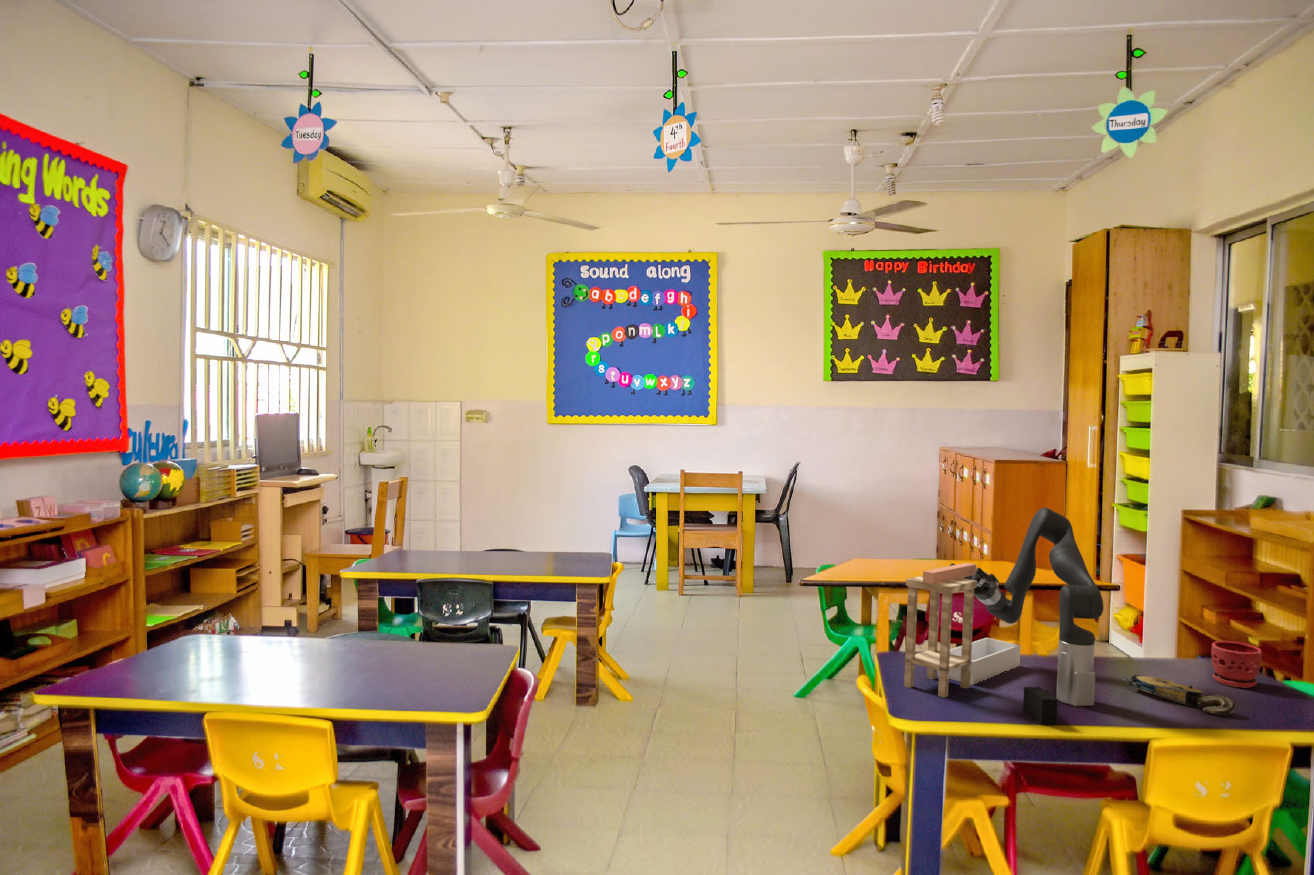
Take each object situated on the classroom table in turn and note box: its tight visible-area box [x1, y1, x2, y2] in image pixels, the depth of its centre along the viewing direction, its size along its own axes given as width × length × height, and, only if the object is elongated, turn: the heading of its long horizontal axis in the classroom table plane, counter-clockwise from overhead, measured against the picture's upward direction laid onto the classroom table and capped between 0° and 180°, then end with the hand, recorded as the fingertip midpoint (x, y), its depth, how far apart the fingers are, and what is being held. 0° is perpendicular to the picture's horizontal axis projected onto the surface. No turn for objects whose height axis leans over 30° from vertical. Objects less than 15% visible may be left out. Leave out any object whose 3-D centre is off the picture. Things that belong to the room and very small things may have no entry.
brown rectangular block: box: [922, 562, 977, 584], centre depth 264 cm, size 26×3×3 cm, turn 133°
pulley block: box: [1119, 674, 1237, 716], centre depth 255 cm, size 14×6×30 cm
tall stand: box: [903, 575, 977, 698], centre depth 261 cm, size 16×14×32 cm
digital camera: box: [1022, 686, 1059, 726], centre depth 237 cm, size 10×5×7 cm, turn 3°
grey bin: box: [936, 637, 1021, 686], centre depth 279 cm, size 32×12×7 cm, turn 133°
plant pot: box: [1210, 640, 1263, 689], centre depth 274 cm, size 13×13×12 cm
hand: (964, 568), depth 270 cm, fingers open, 8 cm apart
